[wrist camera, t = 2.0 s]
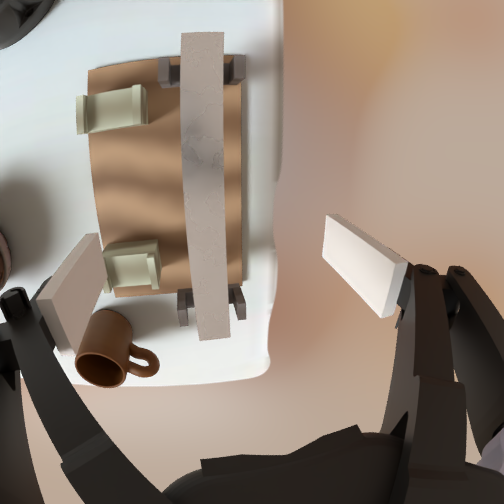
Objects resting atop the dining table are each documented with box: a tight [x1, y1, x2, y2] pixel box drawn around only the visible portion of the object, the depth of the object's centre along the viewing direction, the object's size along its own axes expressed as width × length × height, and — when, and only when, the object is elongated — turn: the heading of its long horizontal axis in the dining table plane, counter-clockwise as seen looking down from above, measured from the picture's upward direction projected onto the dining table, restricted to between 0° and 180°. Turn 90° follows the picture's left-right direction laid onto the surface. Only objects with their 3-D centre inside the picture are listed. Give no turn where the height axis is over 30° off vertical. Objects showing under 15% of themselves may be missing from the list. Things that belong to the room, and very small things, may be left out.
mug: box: [75, 310, 160, 388], centre depth 35 cm, size 12×8×9 cm, turn 77°
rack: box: [76, 55, 246, 327], centre depth 26 cm, size 30×18×12 cm, turn 0°
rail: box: [180, 32, 230, 341], centre depth 23 cm, size 28×3×3 cm, turn 0°
